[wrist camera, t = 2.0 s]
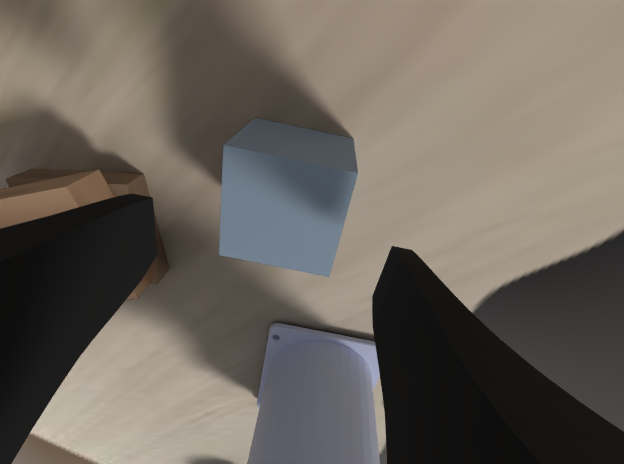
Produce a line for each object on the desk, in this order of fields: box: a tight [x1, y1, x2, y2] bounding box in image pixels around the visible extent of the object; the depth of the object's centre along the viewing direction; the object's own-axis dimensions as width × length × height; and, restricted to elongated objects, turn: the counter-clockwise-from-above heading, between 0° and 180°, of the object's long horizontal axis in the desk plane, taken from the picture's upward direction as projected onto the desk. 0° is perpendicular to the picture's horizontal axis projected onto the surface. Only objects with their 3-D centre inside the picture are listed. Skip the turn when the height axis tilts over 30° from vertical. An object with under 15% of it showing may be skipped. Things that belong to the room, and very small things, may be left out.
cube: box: [219, 118, 358, 277], centre depth 13 cm, size 4×4×4 cm
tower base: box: [6, 169, 170, 284], centre depth 17 cm, size 6×6×2 cm
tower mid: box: [0, 170, 158, 300], centre depth 15 cm, size 6×6×2 cm
